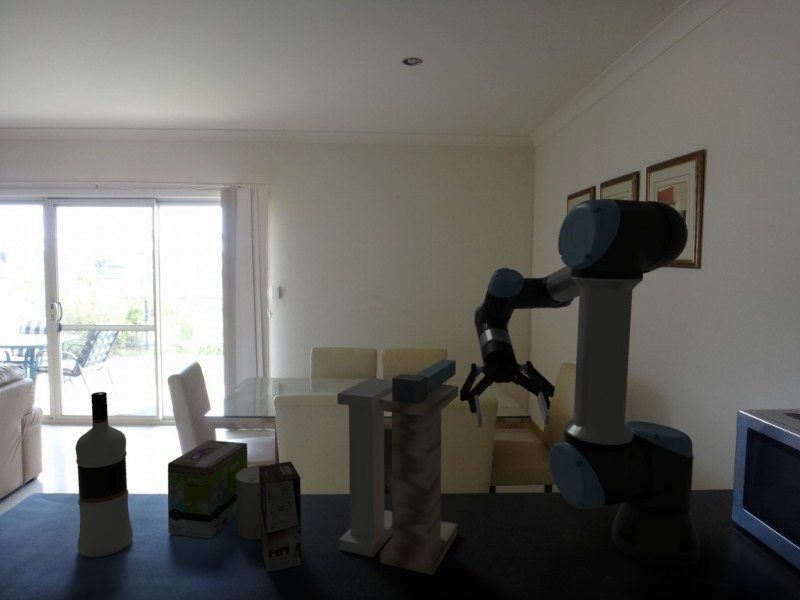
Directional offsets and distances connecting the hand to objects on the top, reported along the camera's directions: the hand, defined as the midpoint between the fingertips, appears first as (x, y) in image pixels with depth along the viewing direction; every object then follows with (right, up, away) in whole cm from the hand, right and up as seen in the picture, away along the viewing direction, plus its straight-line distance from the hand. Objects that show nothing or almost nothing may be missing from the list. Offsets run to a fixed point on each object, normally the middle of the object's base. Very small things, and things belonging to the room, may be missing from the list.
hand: (513, 421), depth 108 cm
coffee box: (-45, -23, -10) cm, 52 cm away
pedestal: (-19, -22, -7) cm, 30 cm away
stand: (-29, -22, -3) cm, 36 cm away
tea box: (-63, -22, +4) cm, 67 cm away
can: (-52, -22, 0) cm, 56 cm away
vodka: (-80, -23, -6) cm, 83 cm away
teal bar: (-17, +8, -5) cm, 20 cm away
